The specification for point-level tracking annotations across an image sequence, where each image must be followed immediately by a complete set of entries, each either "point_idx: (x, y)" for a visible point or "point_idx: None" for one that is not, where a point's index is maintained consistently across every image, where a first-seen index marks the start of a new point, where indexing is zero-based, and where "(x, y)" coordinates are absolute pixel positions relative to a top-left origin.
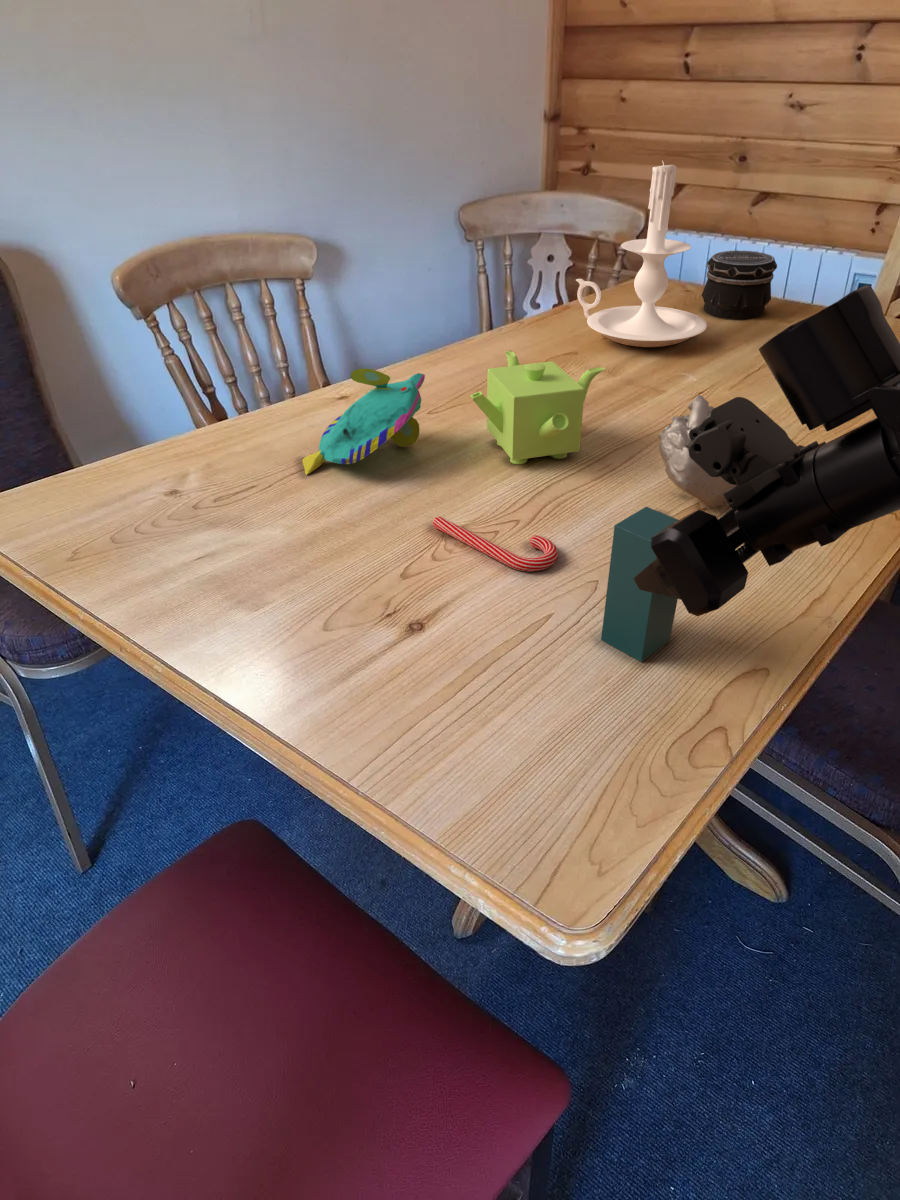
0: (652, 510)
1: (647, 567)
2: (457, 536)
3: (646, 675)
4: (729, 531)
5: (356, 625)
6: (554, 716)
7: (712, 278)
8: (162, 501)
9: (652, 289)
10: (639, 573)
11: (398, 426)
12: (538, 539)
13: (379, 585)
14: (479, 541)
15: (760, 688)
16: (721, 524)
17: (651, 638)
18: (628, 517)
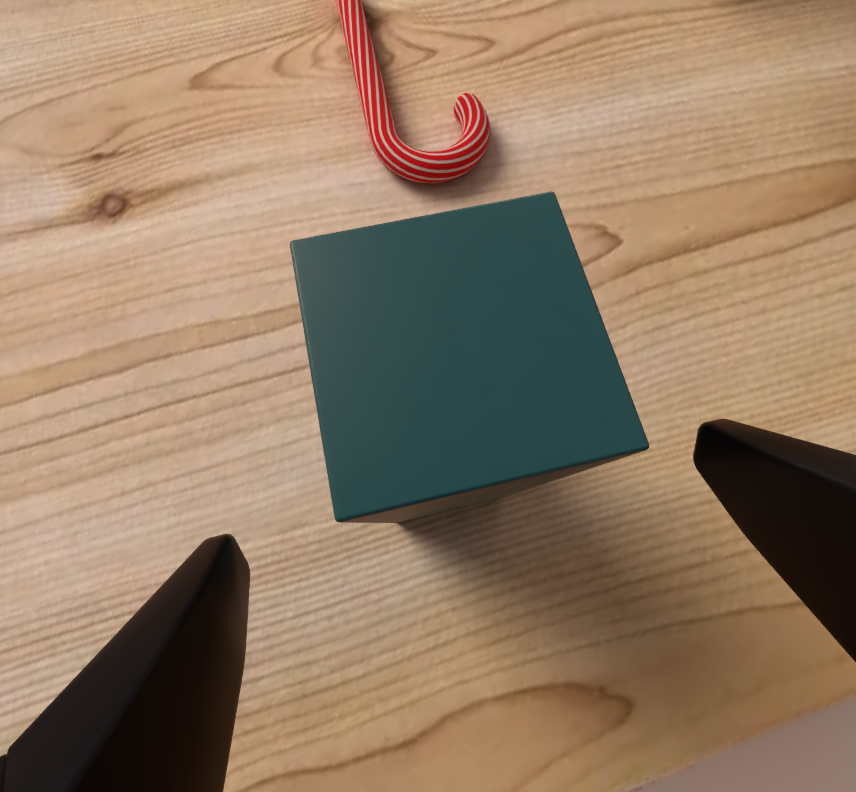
0: (556, 232)
1: (63, 692)
2: (343, 31)
3: (375, 562)
4: (836, 566)
5: (33, 153)
6: (126, 559)
7: None
8: None
9: None
10: (161, 587)
11: None
12: (465, 106)
13: (143, 83)
14: (358, 61)
15: (568, 753)
16: (830, 509)
17: (419, 516)
18: (400, 223)
